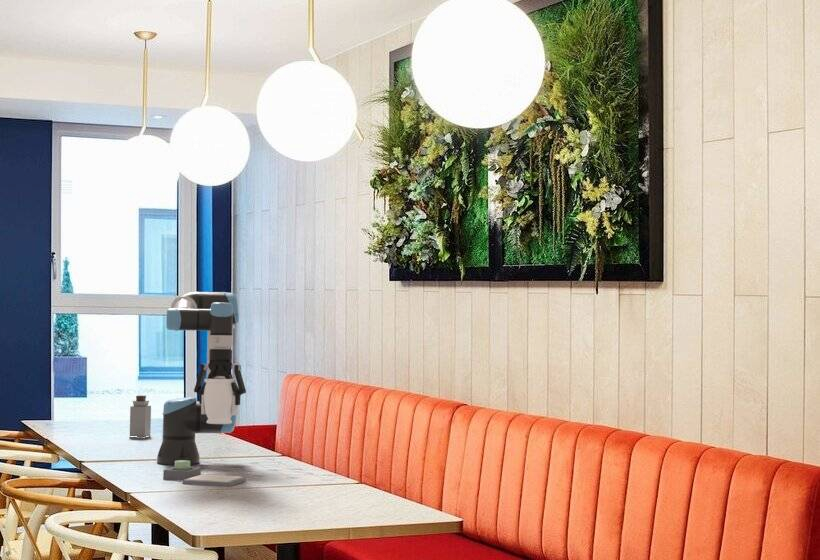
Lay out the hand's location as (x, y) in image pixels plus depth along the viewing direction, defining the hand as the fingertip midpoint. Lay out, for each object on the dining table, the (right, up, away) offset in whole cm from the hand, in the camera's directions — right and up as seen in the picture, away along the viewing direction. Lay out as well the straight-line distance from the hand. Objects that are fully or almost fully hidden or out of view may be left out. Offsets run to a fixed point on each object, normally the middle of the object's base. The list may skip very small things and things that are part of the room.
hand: (219, 414), depth 373 cm
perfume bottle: (-53, -23, +111) cm, 125 cm away
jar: (0, -3, 0) cm, 3 cm away
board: (+1, -20, -14) cm, 25 cm away
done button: (-11, -18, -6) cm, 22 cm away
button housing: (-11, -20, -6) cm, 24 cm away
